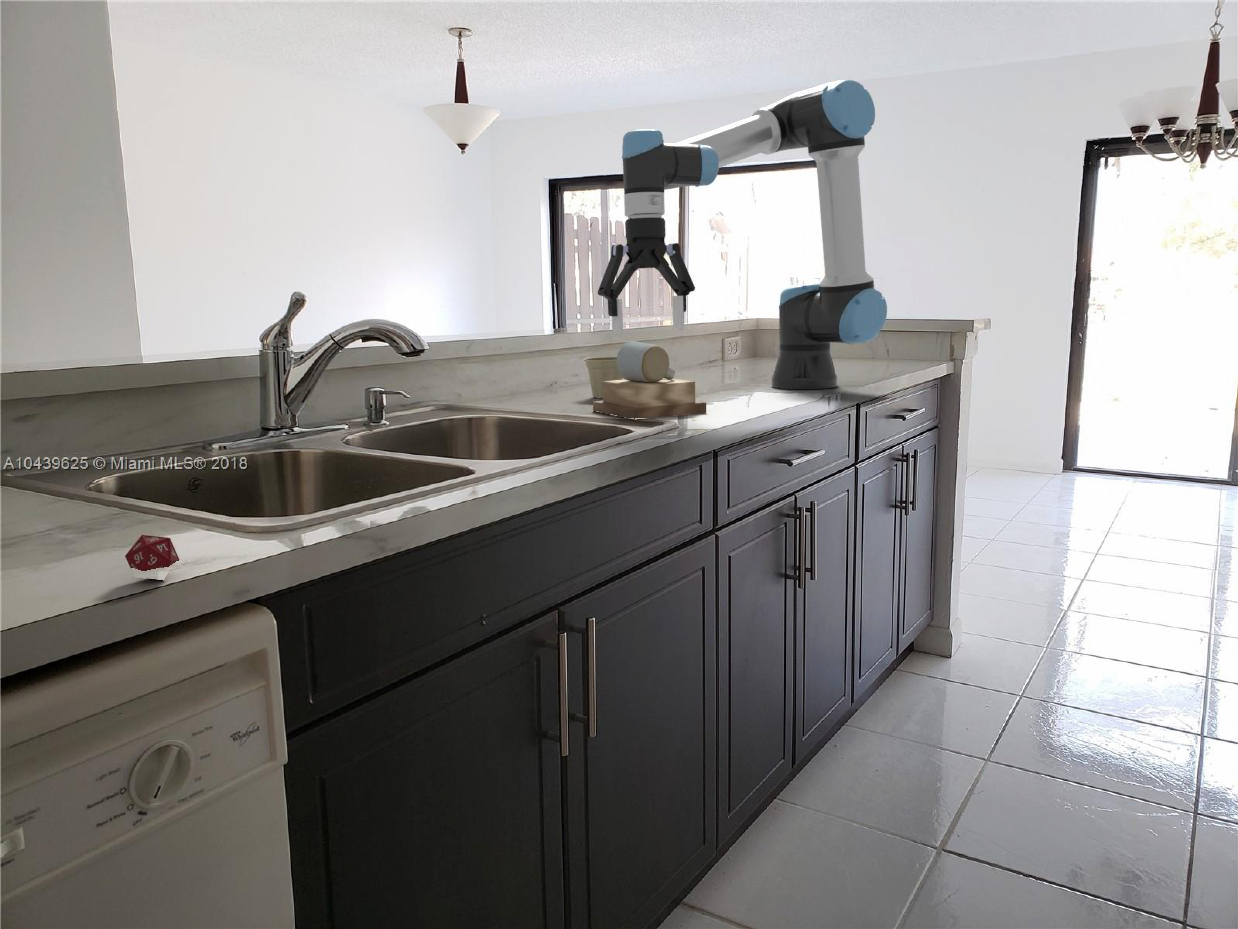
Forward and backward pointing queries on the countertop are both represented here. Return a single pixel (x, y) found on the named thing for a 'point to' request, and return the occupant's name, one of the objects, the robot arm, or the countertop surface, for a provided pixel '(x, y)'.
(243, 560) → the countertop surface
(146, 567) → the dice
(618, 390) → the pedestal block
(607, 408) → the board
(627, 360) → the ceramic mug
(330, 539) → the countertop surface
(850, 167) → the robot arm
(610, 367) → the flower pot
